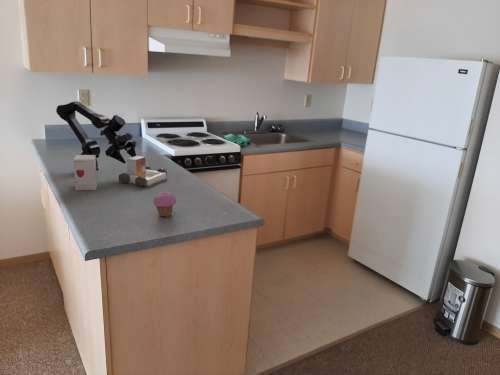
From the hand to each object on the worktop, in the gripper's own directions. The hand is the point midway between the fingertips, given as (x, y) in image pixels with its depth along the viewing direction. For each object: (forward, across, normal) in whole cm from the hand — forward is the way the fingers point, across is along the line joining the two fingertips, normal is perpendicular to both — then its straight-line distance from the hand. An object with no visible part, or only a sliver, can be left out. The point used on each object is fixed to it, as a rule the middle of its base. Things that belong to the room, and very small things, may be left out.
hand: (131, 161), depth 206 cm
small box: (+8, -1, +3) cm, 9 cm away
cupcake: (+37, -34, -25) cm, 57 cm away
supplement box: (+2, -24, +12) cm, 27 cm away
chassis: (+12, 0, +1) cm, 12 cm away
